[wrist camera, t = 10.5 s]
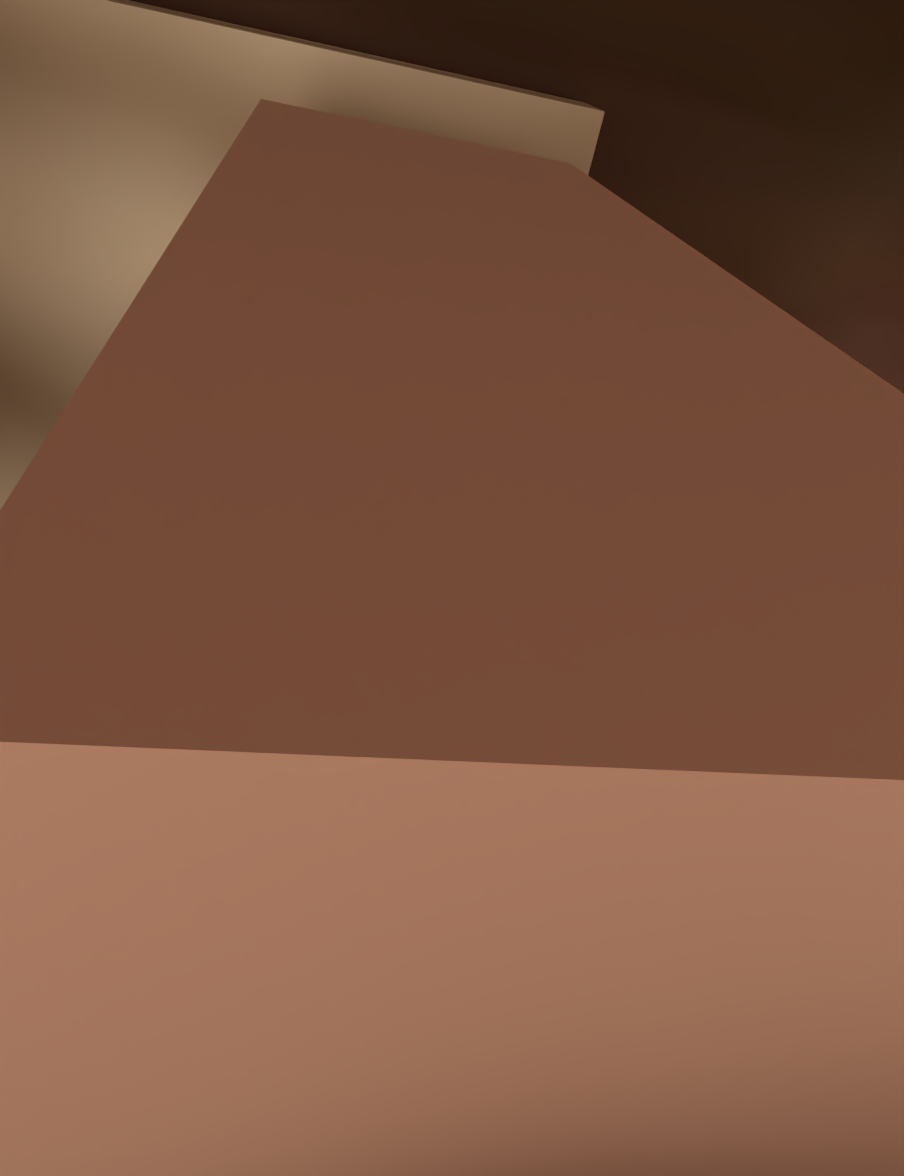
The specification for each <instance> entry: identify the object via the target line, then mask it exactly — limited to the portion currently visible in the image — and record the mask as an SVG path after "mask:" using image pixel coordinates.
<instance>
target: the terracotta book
mask: <svg viewBox="0 0 904 1176" xmlns="http://www.w3.org/2000/svg"><path fill="white" fill-rule="evenodd" d="M0 1176H904V393H902V392H901V391H899V390H898V389H896V388H895V387H893V386H892V385H891V384H889V383H888V382H886V381H885V380H883V379H882V378H880V377H879V376H877V375H876V374H875V373H873V372H872V371H870V370H869V369H867V368H866V367H864V366H863V365H862V364H860V363H859V362H857V361H856V360H854V359H853V358H851V357H850V356H849V355H847V354H846V353H844V352H843V351H841V350H840V349H838V348H837V347H835V346H834V345H833V344H831V343H830V342H828V341H827V340H825V339H824V338H822V337H821V336H820V335H818V334H817V333H815V332H814V331H812V330H811V329H809V328H808V327H807V326H805V325H804V324H802V323H801V322H799V321H798V320H796V319H795V318H793V317H792V316H791V315H789V314H788V313H786V312H785V311H783V310H782V309H780V308H779V307H778V306H776V305H775V304H773V303H772V302H770V301H769V300H767V299H766V298H765V297H763V296H762V295H760V294H759V293H757V292H756V291H754V290H753V289H751V288H750V287H749V286H747V285H746V284H744V283H743V282H741V281H740V280H738V279H737V278H736V277H734V276H733V275H731V274H730V273H728V272H727V271H725V270H724V269H723V268H721V267H720V266H718V265H717V264H715V263H714V262H712V261H711V260H709V259H708V258H707V257H705V256H704V255H702V254H701V253H699V252H698V251H696V250H695V249H694V248H692V247H691V246H689V245H688V244H686V243H685V242H683V241H682V240H681V239H679V238H678V237H676V236H675V235H673V234H672V233H670V232H669V231H667V230H666V229H665V228H663V227H662V226H660V225H659V224H657V223H656V222H654V221H653V220H652V219H650V218H649V217H647V216H646V215H644V214H643V213H641V212H640V211H639V210H637V209H636V208H634V207H633V206H631V205H630V204H628V203H627V202H625V201H624V200H623V199H621V198H620V197H618V196H617V195H615V194H614V193H612V192H611V191H610V190H608V189H607V188H605V187H604V186H602V185H601V184H599V183H598V182H597V181H595V180H594V179H592V178H591V177H589V176H588V175H586V174H585V173H583V172H582V171H581V170H579V169H578V168H576V167H575V166H573V165H572V164H570V163H566V162H562V161H557V160H552V159H547V158H542V157H538V156H533V155H528V154H523V153H518V152H514V151H509V150H504V149H499V148H494V147H490V146H485V145H480V144H475V143H470V142H466V141H461V140H456V139H451V138H446V137H442V136H437V135H432V134H427V133H422V132H418V131H413V130H408V129H403V128H398V127H394V126H389V125H384V124H379V123H374V122H370V121H365V120H360V119H355V118H351V117H346V116H341V115H336V114H331V113H327V112H322V111H317V110H312V109H307V108H303V107H298V106H293V105H288V104H283V103H279V102H274V101H269V100H264V99H261V100H260V101H259V103H258V104H257V106H256V107H255V109H254V111H253V112H252V114H251V115H250V117H249V119H248V120H247V122H246V123H245V125H244V126H243V128H242V130H241V131H240V133H239V134H238V136H237V137H236V139H235V141H234V142H233V144H232V145H231V147H230V148H229V150H228V152H227V153H226V155H225V156H224V158H223V160H222V161H221V163H220V164H219V166H218V167H217V169H216V171H215V172H214V174H213V175H212V177H211V178H210V180H209V182H208V183H207V185H206V186H205V188H204V190H203V191H202V193H201V194H200V196H199V197H198V199H197V201H196V202H195V204H194V205H193V207H192V208H191V210H190V212H189V213H188V215H187V216H186V218H185V220H184V221H183V223H182V224H181V226H180V227H179V229H178V231H177V232H176V234H175V235H174V237H173V238H172V240H171V242H170V243H169V245H168V246H167V248H166V249H165V251H164V253H163V254H162V256H161V257H160V259H159V261H158V262H157V264H156V265H155V267H154V268H153V270H152V272H151V273H150V275H149V276H148V278H147V279H146V281H145V283H144V284H143V286H142V287H141V289H140V291H139V292H138V294H137V295H136V297H135V298H134V300H133V302H132V303H131V305H130V306H129V308H128V309H127V311H126V313H125V314H124V316H123V317H122V319H121V320H120V322H119V324H118V325H117V327H116V328H115V330H114V332H113V333H112V335H111V336H110V338H109V339H108V341H107V343H106V344H105V346H104V347H103V349H102V350H101V352H100V354H99V355H98V357H97V358H96V360H95V362H94V363H93V365H92V366H91V368H90V369H89V371H88V373H87V374H86V376H85V377H84V379H83V380H82V382H81V384H80V385H79V387H78V388H77V390H76V391H75V393H74V395H73V396H72V398H71V399H70V401H69V403H68V404H67V406H66V407H65V409H64V410H63V412H62V414H61V415H60V417H59V418H58V420H57V421H56V423H55V425H54V426H53V428H52V429H51V431H50V433H49V434H48V436H47V437H46V439H45V440H44V442H43V444H42V445H41V447H40V448H39V450H38V451H37V453H36V455H35V456H34V458H33V459H32V461H31V462H30V464H29V466H28V467H27V469H26V470H25V472H24V474H23V475H22V477H21V478H20V480H19V481H18V483H17V485H16V486H15V488H14V489H13V491H12V492H11V494H10V496H9V497H8V499H7V500H6V502H5V504H4V505H3V507H2V508H1V510H0Z"/></svg>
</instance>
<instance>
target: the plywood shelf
mask: <svg viewBox="0 0 904 1176" xmlns="http://www.w3.org/2000/svg"><path fill="white" fill-rule="evenodd" d="M261 99H264V100H269V101H274V102H279V103H283V104H288V105H293V106H298V107H303V108H307V109H312V110H317V111H322V112H327V113H331V114H336V115H341V116H346V117H351V118H355V119H360V120H365V121H370V122H374V123H379V124H384V125H389V126H394V127H398V128H403V129H408V130H413V131H418V132H422V133H427V134H432V135H437V136H442V137H446V138H451V139H456V140H461V141H466V142H470V143H475V144H480V145H485V146H490V147H494V148H499V149H504V150H509V151H514V152H518V153H523V154H528V155H533V156H538V157H542V158H547V159H552V160H557V161H562V162H566V163H570V164H572V165H573V166H575V167H576V168H578V169H579V170H581V171H582V172H583V173H585V174H586V175H588V174H589V170H590V166H591V162H592V158H593V155H594V151H595V147H596V143H597V139H598V136H599V132H600V128H601V124H602V120H603V116H604V113H605V111H603V110H600V109H598V108H596V107H593V106H591V105H589V104H586V103H584V102H580V101H576V100H571V99H567V98H562V97H558V96H553V95H549V94H544V93H540V92H535V91H531V90H527V89H522V88H518V87H513V86H509V85H504V84H500V83H495V82H491V81H486V80H482V79H477V78H473V77H469V76H464V75H460V74H455V73H451V72H446V71H442V70H437V69H433V68H428V67H424V66H419V65H415V64H411V63H406V62H402V61H397V60H393V59H388V58H384V57H379V56H375V55H370V54H366V53H361V52H357V51H353V50H348V49H344V48H339V47H335V46H330V45H326V44H321V43H317V42H312V41H308V40H303V39H299V38H295V37H290V36H286V35H281V34H277V33H272V32H268V31H263V30H259V29H254V28H250V27H245V26H241V25H237V24H232V23H228V22H223V21H219V20H214V19H210V18H205V17H201V16H196V15H192V14H187V13H183V12H179V11H174V10H170V9H165V8H161V7H156V6H152V5H147V4H143V3H138V2H134V1H129V0H0V510H1V508H2V507H3V505H4V504H5V502H6V500H7V499H8V497H9V496H10V494H11V492H12V491H13V489H14V488H15V486H16V485H17V483H18V481H19V480H20V478H21V477H22V475H23V474H24V472H25V470H26V469H27V467H28V466H29V464H30V462H31V461H32V459H33V458H34V456H35V455H36V453H37V451H38V450H39V448H40V447H41V445H42V444H43V442H44V440H45V439H46V437H47V436H48V434H49V433H50V431H51V429H52V428H53V426H54V425H55V423H56V421H57V420H58V418H59V417H60V415H61V414H62V412H63V410H64V409H65V407H66V406H67V404H68V403H69V401H70V399H71V398H72V396H73V395H74V393H75V391H76V390H77V388H78V387H79V385H80V384H81V382H82V380H83V379H84V377H85V376H86V374H87V373H88V371H89V369H90V368H91V366H92V365H93V363H94V362H95V360H96V358H97V357H98V355H99V354H100V352H101V350H102V349H103V347H104V346H105V344H106V343H107V341H108V339H109V338H110V336H111V335H112V333H113V332H114V330H115V328H116V327H117V325H118V324H119V322H120V320H121V319H122V317H123V316H124V314H125V313H126V311H127V309H128V308H129V306H130V305H131V303H132V302H133V300H134V298H135V297H136V295H137V294H138V292H139V291H140V289H141V287H142V286H143V284H144V283H145V281H146V279H147V278H148V276H149V275H150V273H151V272H152V270H153V268H154V267H155V265H156V264H157V262H158V261H159V259H160V257H161V256H162V254H163V253H164V251H165V249H166V248H167V246H168V245H169V243H170V242H171V240H172V238H173V237H174V235H175V234H176V232H177V231H178V229H179V227H180V226H181V224H182V223H183V221H184V220H185V218H186V216H187V215H188V213H189V212H190V210H191V208H192V207H193V205H194V204H195V202H196V201H197V199H198V197H199V196H200V194H201V193H202V191H203V190H204V188H205V186H206V185H207V183H208V182H209V180H210V178H211V177H212V175H213V174H214V172H215V171H216V169H217V167H218V166H219V164H220V163H221V161H222V160H223V158H224V156H225V155H226V153H227V152H228V150H229V148H230V147H231V145H232V144H233V142H234V141H235V139H236V137H237V136H238V134H239V133H240V131H241V130H242V128H243V126H244V125H245V123H246V122H247V120H248V119H249V117H250V115H251V114H252V112H253V111H254V109H255V107H256V106H257V104H258V103H259V101H260V100H261Z"/></svg>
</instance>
